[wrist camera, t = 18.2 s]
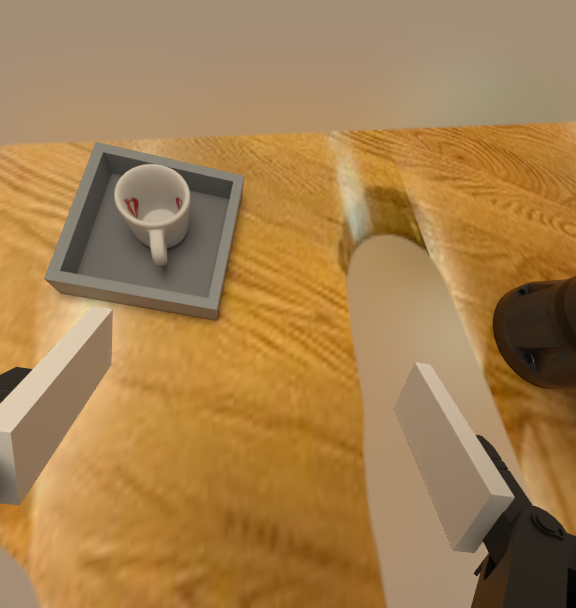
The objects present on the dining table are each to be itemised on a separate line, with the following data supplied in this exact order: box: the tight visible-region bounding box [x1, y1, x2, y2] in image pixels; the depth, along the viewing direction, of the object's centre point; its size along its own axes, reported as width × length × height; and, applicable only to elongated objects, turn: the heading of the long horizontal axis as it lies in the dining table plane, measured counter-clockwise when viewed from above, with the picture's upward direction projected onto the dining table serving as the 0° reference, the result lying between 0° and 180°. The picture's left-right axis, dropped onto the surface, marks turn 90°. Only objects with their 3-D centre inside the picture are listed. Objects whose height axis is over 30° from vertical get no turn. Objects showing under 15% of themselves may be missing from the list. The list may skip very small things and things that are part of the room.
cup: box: [114, 164, 190, 266], centre depth 45 cm, size 11×8×8 cm
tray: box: [44, 142, 244, 321], centre depth 46 cm, size 18×18×4 cm
